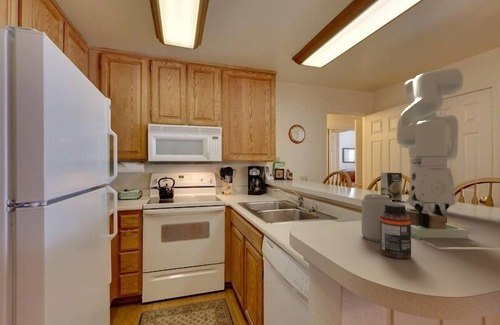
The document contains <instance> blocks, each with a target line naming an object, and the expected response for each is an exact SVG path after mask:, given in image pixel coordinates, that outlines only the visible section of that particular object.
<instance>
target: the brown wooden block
mask: <svg viewBox="0 0 500 325" xmlns="http://www.w3.org/2000/svg"><path fill="white" fill-rule="evenodd" d="M405 212H406V214H407V215H408V216H410V218H411V225H414V226H420V225H419V212H417V211H416V209H408V208H407V209H406V211H405ZM433 212H434V211H428V210H427V214H429V228H426V229H446V217H444V216H441V215H437V214H433ZM421 227H423V226H421ZM424 228H425V227H424Z"/></svg>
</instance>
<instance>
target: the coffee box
mask: <svg viewBox="0 0 500 325" xmlns="http://www.w3.org/2000/svg"><path fill="white" fill-rule="evenodd" d="M402 178H403V172H381V173H380V195H387V196H389V199H390V200H402V198H403V192H402V190H403V187H402V186H403V184H402V183H403V181H402V180H403V179H402ZM402 201H403V200H402Z"/></svg>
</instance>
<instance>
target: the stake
mask: <svg viewBox="0 0 500 325" xmlns="http://www.w3.org/2000/svg"><path fill="white" fill-rule="evenodd" d="M443 216H444V217H446V223H447V224H450V225H453V226H457V227H460V228H463V229H470V228H473V227H471V226H468V225H465V224H461V223H457V222H454V221H450V220H448V209H447V210H446V212H445V214H443Z"/></svg>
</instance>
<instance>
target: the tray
mask: <svg viewBox="0 0 500 325" xmlns="http://www.w3.org/2000/svg"><path fill="white" fill-rule="evenodd" d="M411 238H414V239H417V240H418V241H423V239H451V240H452V239H458V240H459V239H460V240H461V239H464V240H465V239H466V240H467V239H469V229H468V228H460V227H457V226H453V225H450V224H447V223H446V229H426V228H424V227H421V226H414V225H411Z"/></svg>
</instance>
